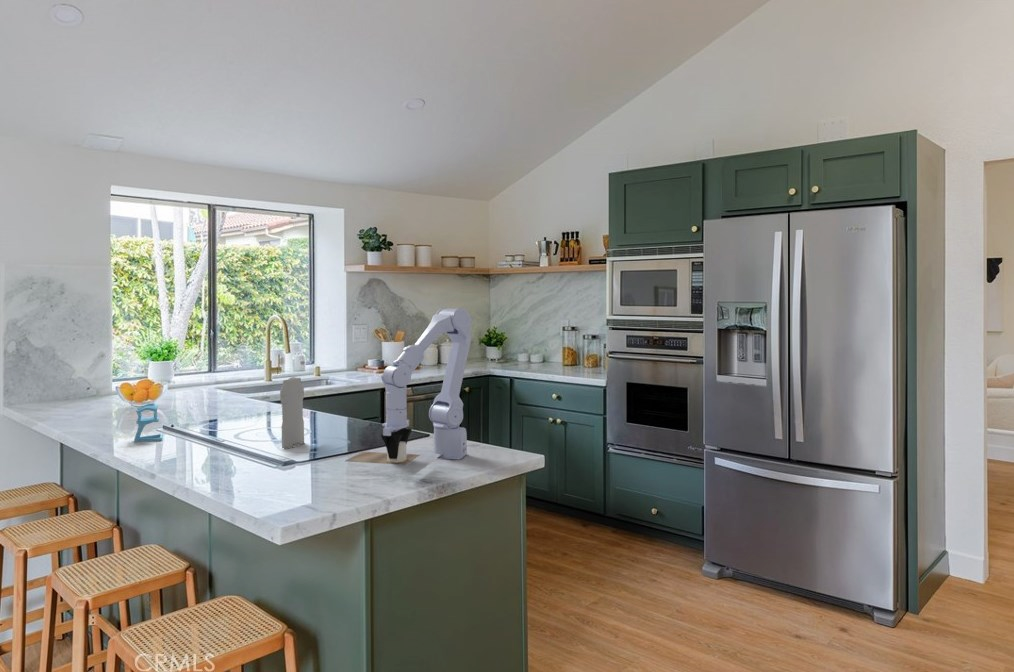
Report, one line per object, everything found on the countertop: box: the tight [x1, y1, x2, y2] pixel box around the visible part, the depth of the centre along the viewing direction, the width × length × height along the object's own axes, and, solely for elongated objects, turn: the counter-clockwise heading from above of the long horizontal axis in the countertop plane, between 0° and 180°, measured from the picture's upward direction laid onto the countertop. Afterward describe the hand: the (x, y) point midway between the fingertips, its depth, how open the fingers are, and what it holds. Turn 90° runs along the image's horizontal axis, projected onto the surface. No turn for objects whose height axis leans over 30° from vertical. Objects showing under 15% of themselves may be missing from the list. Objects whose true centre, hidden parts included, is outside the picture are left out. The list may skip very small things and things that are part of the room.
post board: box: [345, 451, 420, 466], centre depth 202 cm, size 18×12×6 cm, turn 77°
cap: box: [386, 441, 407, 463], centre depth 199 cm, size 5×5×5 cm
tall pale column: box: [279, 376, 305, 449], centre depth 224 cm, size 11×4×22 cm, turn 156°
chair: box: [133, 403, 163, 443], centre depth 234 cm, size 8×8×12 cm
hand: (396, 456), depth 199 cm, fingers closed on cap, 5 cm apart
